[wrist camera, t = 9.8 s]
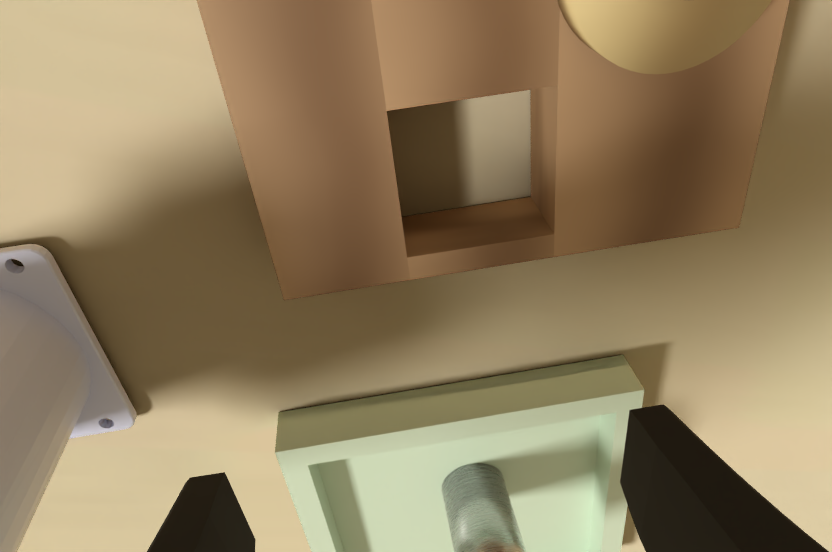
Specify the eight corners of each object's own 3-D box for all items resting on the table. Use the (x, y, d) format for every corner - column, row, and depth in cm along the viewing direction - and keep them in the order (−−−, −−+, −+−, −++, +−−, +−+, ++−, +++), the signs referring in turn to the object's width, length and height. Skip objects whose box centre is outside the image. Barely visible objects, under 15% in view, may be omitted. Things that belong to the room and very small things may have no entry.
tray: (341, 596, 32) (342, 636, 30) (278, 412, 24) (275, 452, 22) (601, 549, 32) (615, 586, 31) (623, 354, 24) (644, 389, 23)
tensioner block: (288, 256, 20) (280, 338, 16) (163, -203, 13) (102, -231, 10) (697, 191, 20) (775, 258, 17) (778, -280, 14) (936, -335, 10)
